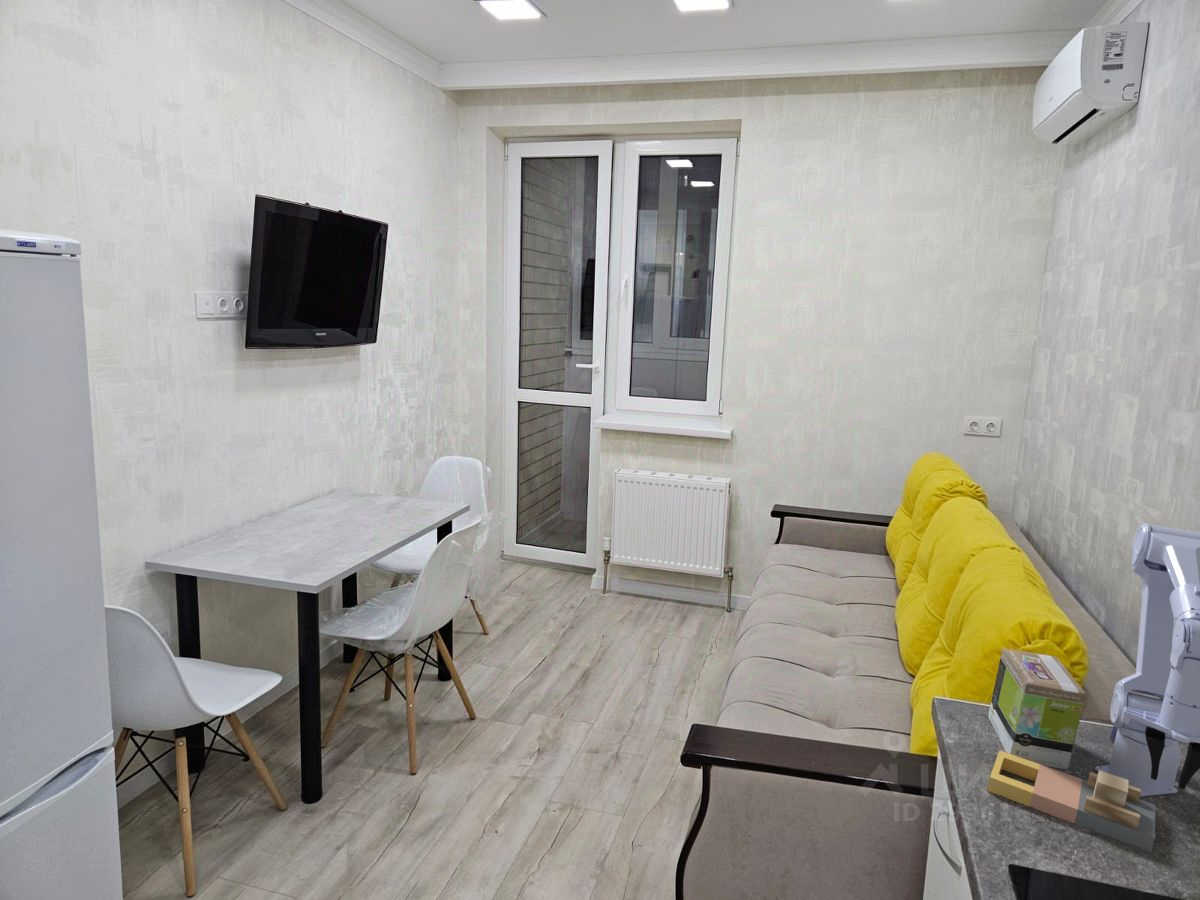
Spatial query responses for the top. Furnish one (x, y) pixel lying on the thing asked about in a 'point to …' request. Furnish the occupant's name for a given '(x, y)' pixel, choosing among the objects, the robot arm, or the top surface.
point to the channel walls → (1113, 806)
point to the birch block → (1111, 789)
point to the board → (1066, 799)
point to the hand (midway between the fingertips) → (1167, 781)
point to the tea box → (1036, 708)
